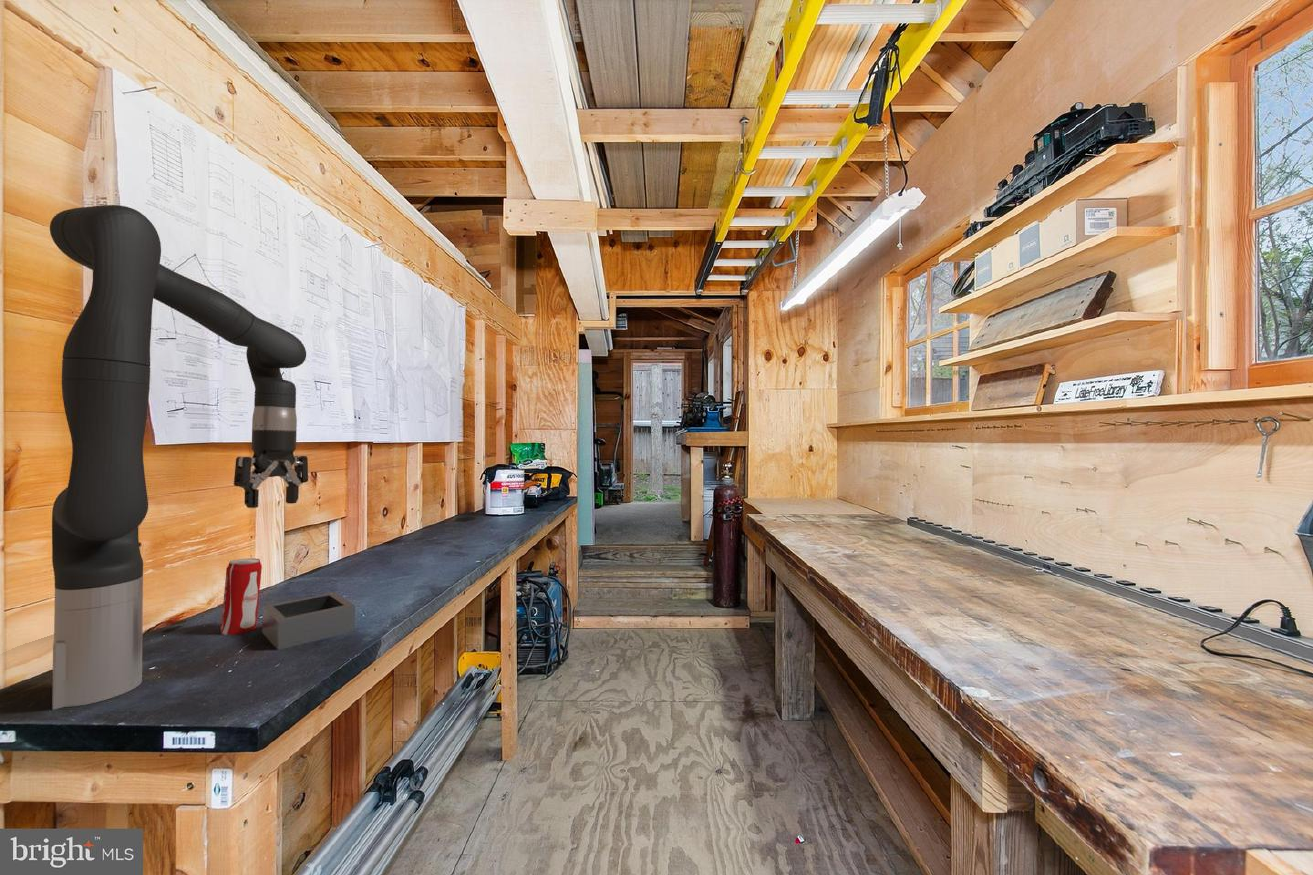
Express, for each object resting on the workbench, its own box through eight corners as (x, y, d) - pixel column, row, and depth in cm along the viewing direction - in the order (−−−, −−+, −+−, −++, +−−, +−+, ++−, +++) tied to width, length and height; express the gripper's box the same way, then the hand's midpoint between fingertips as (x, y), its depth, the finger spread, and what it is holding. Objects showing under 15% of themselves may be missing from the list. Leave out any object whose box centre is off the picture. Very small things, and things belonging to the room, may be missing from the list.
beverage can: (220, 631, 105) (220, 560, 105) (259, 624, 109) (260, 555, 109) (221, 640, 100) (222, 565, 100) (262, 632, 105) (263, 560, 105)
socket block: (277, 653, 94) (278, 621, 94) (262, 635, 103) (262, 606, 103) (354, 633, 104) (354, 605, 104) (334, 618, 113) (334, 592, 113)
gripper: (255, 427, 98) (252, 510, 98) (318, 430, 112) (316, 502, 112) (225, 427, 100) (222, 508, 100) (291, 429, 114) (289, 501, 114)
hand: (272, 505), depth 106 cm, fingers open, 8 cm apart
